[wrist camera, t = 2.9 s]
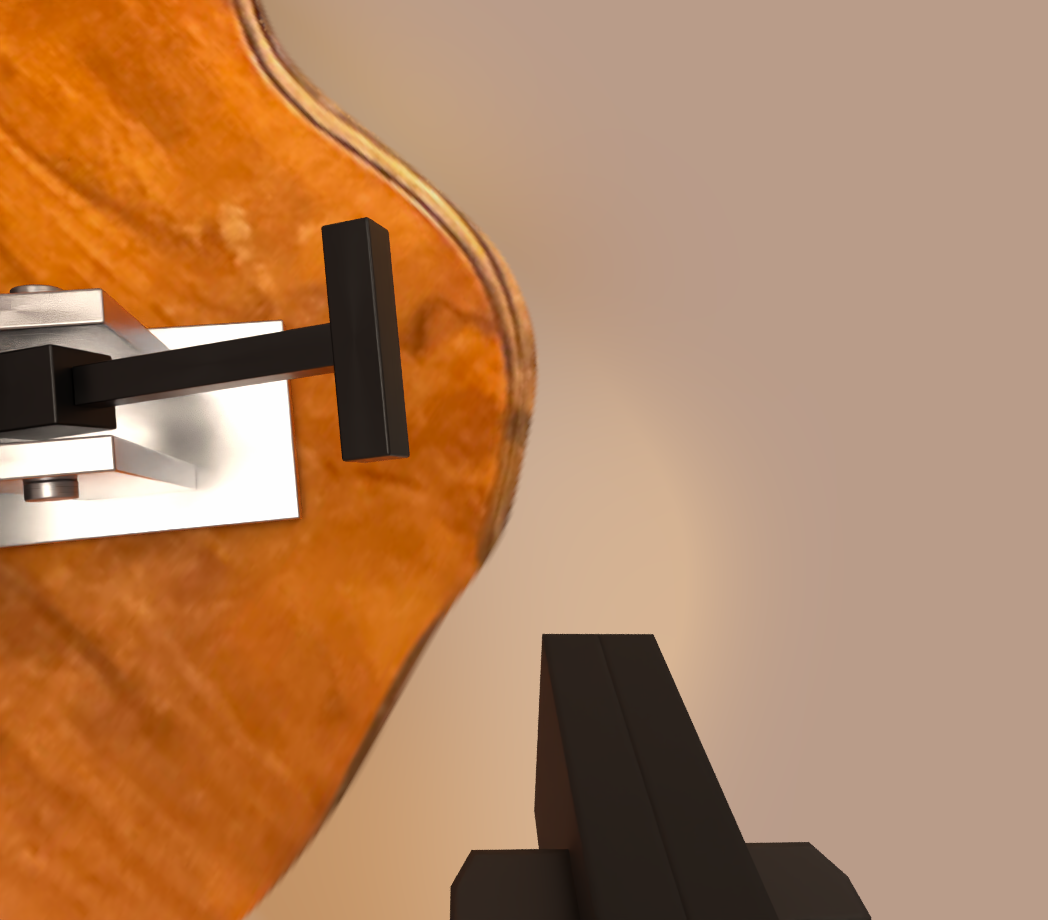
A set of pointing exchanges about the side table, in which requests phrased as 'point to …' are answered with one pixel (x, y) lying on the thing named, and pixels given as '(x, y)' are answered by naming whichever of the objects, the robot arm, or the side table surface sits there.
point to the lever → (239, 362)
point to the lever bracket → (144, 437)
